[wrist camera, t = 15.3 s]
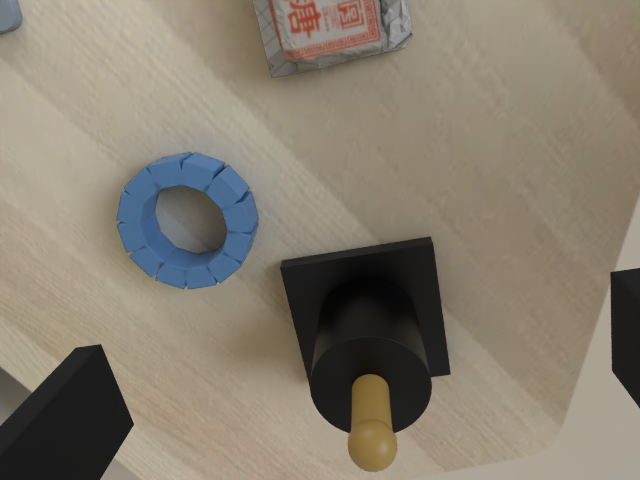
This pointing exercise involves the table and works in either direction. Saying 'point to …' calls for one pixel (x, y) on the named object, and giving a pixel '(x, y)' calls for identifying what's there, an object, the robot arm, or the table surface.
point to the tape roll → (156, 249)
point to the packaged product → (329, 31)
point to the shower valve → (9, 15)
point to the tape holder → (369, 339)
